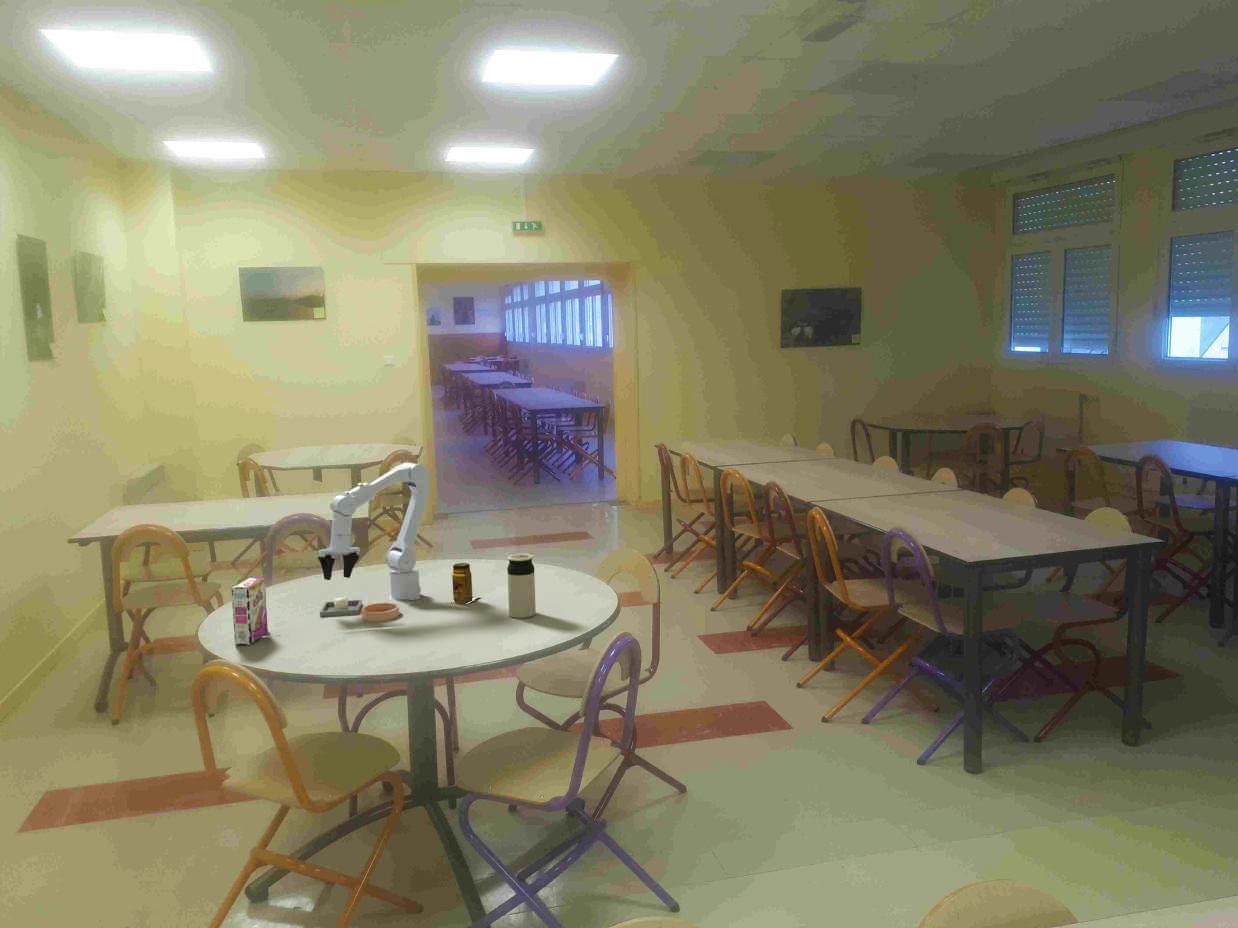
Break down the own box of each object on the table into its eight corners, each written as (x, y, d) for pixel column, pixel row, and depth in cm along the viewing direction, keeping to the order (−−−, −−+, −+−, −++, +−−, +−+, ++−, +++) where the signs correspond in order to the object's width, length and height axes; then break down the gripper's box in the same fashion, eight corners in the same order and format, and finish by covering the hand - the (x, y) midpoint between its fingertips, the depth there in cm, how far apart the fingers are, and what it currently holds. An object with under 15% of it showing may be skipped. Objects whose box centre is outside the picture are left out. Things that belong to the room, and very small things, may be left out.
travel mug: (531, 619, 263) (529, 559, 261) (505, 618, 265) (503, 559, 262) (538, 611, 271) (537, 553, 268) (513, 610, 272) (511, 552, 270)
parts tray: (362, 605, 280) (361, 599, 280) (358, 615, 270) (357, 609, 269) (325, 608, 278) (325, 602, 278) (320, 618, 268) (319, 612, 267)
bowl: (400, 610, 274) (400, 601, 274) (398, 621, 263) (397, 611, 263) (364, 613, 272) (363, 603, 272) (360, 623, 262) (359, 614, 261)
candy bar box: (252, 645, 244) (248, 587, 242) (234, 645, 244) (229, 587, 242) (269, 632, 255) (265, 577, 253) (252, 632, 255) (248, 577, 253)
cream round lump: (349, 607, 276) (348, 596, 276) (347, 611, 272) (346, 600, 272) (335, 608, 276) (334, 597, 275) (333, 612, 272) (333, 601, 271)
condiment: (447, 603, 282) (446, 566, 280) (462, 595, 290) (460, 559, 288) (467, 605, 279) (466, 567, 277) (481, 597, 287) (480, 561, 285)
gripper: (350, 531, 281) (346, 574, 282) (313, 533, 269) (309, 578, 269) (365, 534, 278) (362, 578, 278) (329, 537, 265) (325, 582, 266)
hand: (337, 578), depth 273 cm, fingers open, 7 cm apart
